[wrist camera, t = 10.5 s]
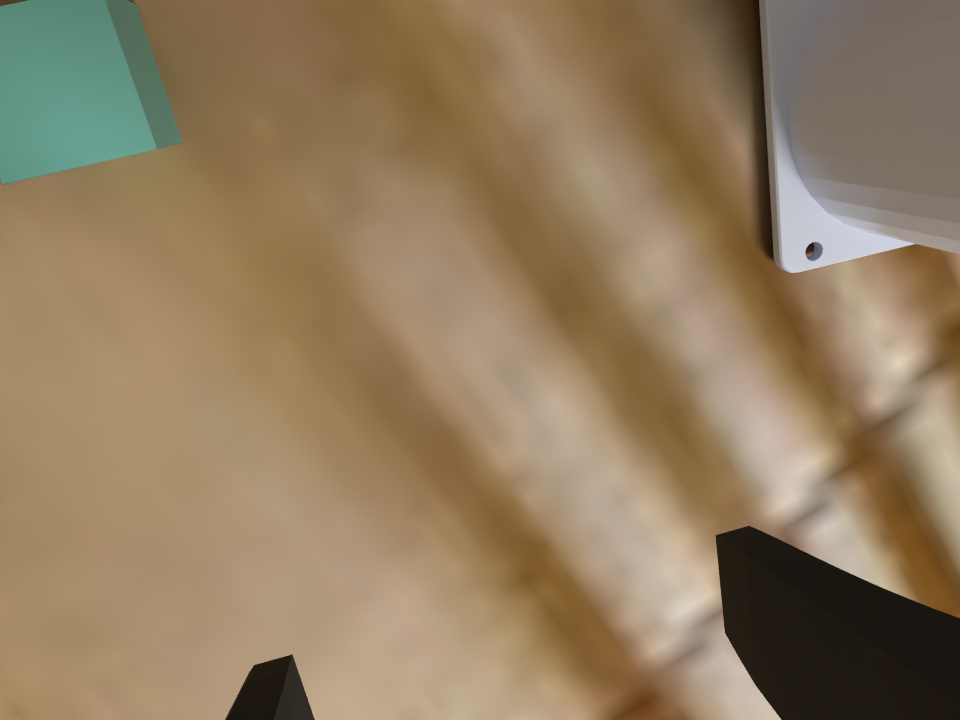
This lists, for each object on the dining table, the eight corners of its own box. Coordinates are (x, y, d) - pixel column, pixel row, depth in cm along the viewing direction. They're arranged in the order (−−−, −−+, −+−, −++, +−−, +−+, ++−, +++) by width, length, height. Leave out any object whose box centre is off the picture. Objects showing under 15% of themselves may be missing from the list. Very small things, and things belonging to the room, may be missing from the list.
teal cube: (137, 5, 17) (99, -15, 14) (183, 142, 18) (157, 149, 15) (-2, 33, 17) (-68, 19, 14) (53, 171, 18) (2, 184, 15)
